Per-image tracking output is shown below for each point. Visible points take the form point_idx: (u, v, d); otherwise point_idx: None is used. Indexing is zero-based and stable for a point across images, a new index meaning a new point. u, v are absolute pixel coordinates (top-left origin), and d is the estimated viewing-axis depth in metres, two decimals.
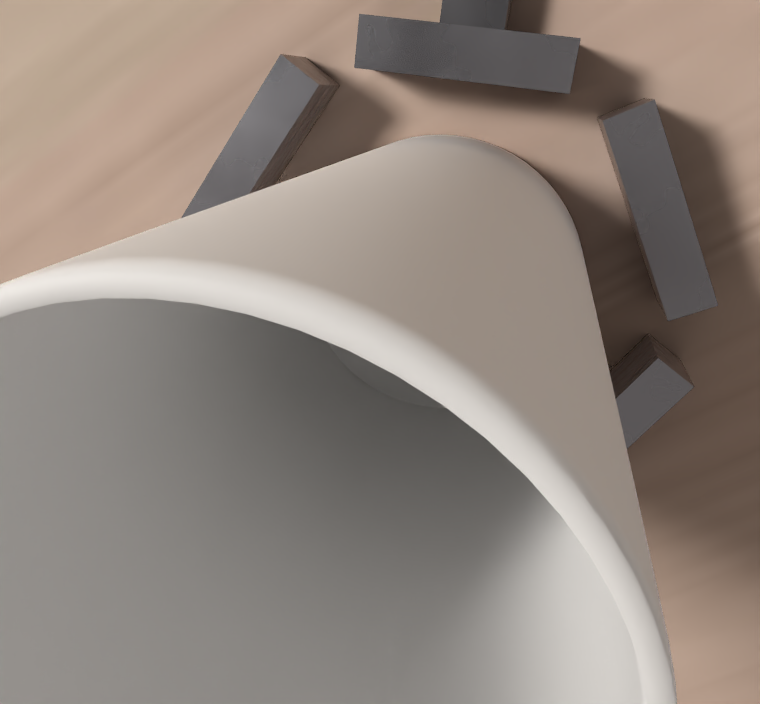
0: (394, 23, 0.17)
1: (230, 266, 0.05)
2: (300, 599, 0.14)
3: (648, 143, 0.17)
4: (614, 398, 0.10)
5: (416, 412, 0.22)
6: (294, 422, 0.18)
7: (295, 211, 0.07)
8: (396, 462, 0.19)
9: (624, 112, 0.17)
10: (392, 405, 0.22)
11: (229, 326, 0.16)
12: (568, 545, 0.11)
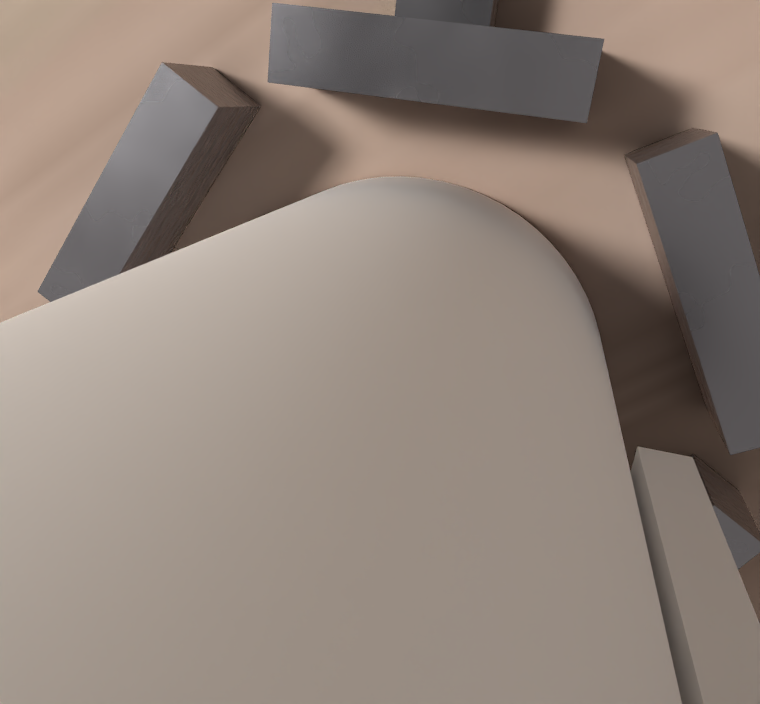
0: (324, 16, 0.12)
1: None
2: None
3: (706, 197, 0.11)
4: None
5: None
6: None
7: None
8: None
9: (670, 151, 0.11)
10: None
11: None
12: None
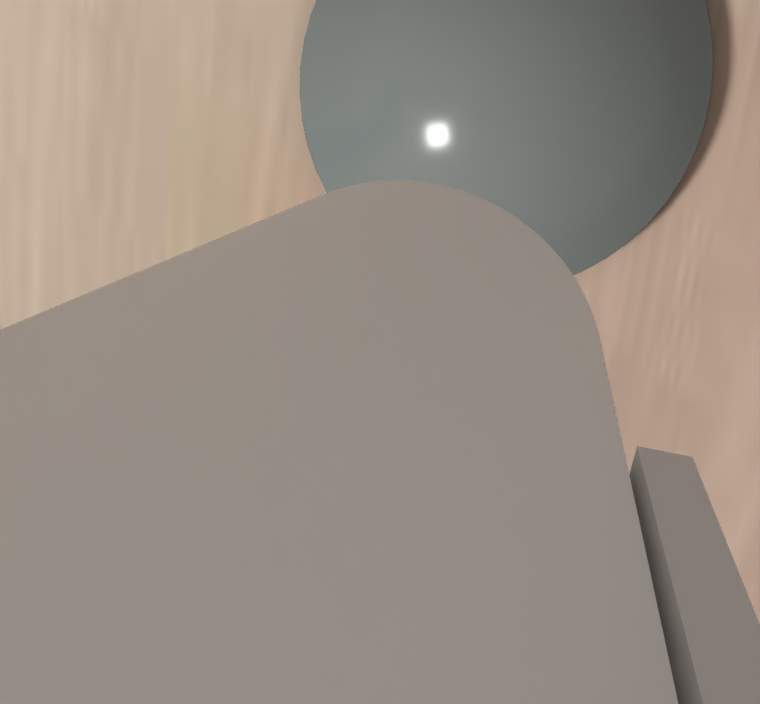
0: None
1: None
2: None
3: None
4: None
5: None
6: None
7: None
8: None
9: None
10: None
11: None
12: None
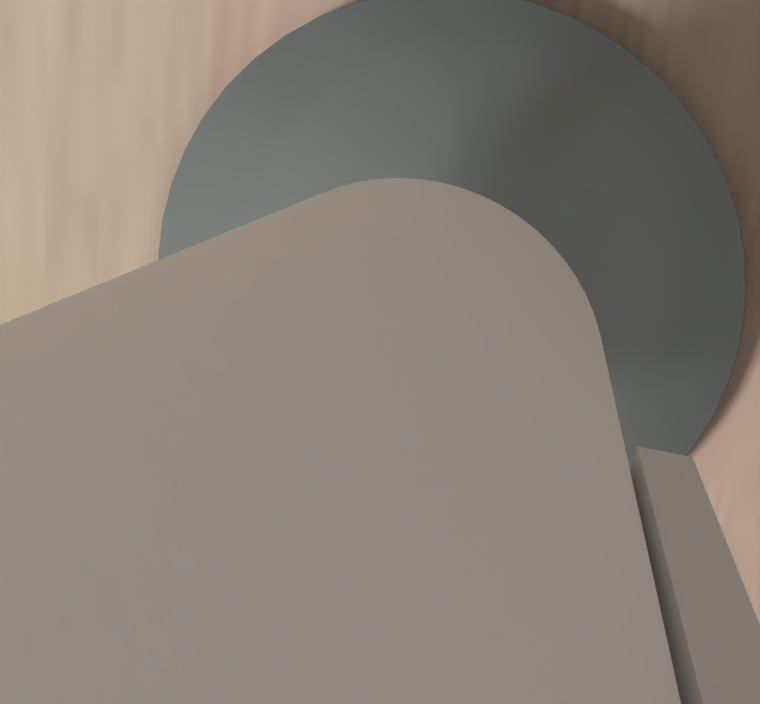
0: None
1: None
2: None
3: None
4: None
5: None
6: None
7: None
8: None
9: None
10: None
11: None
12: None
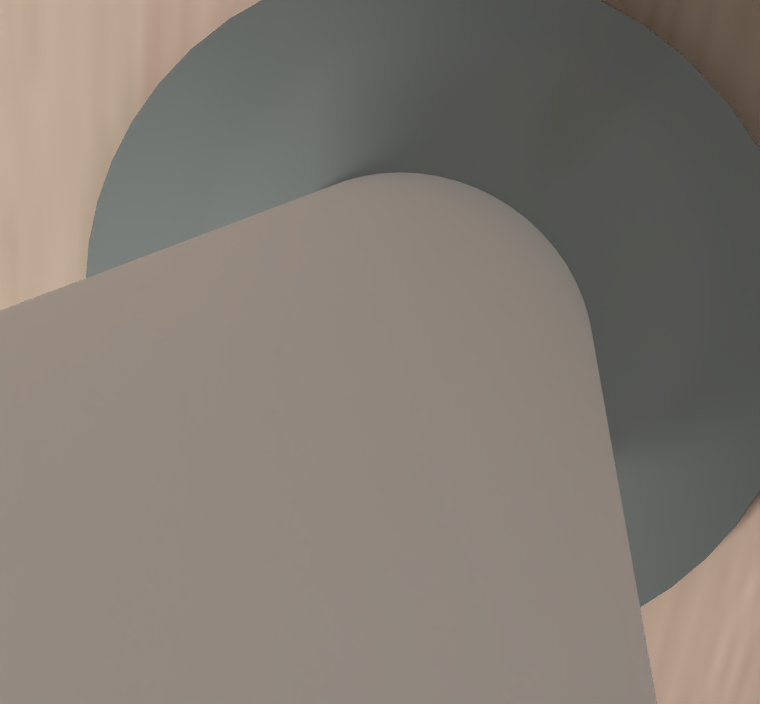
0: None
1: None
2: None
3: None
4: None
5: None
6: None
7: None
8: None
9: None
10: None
11: None
12: None
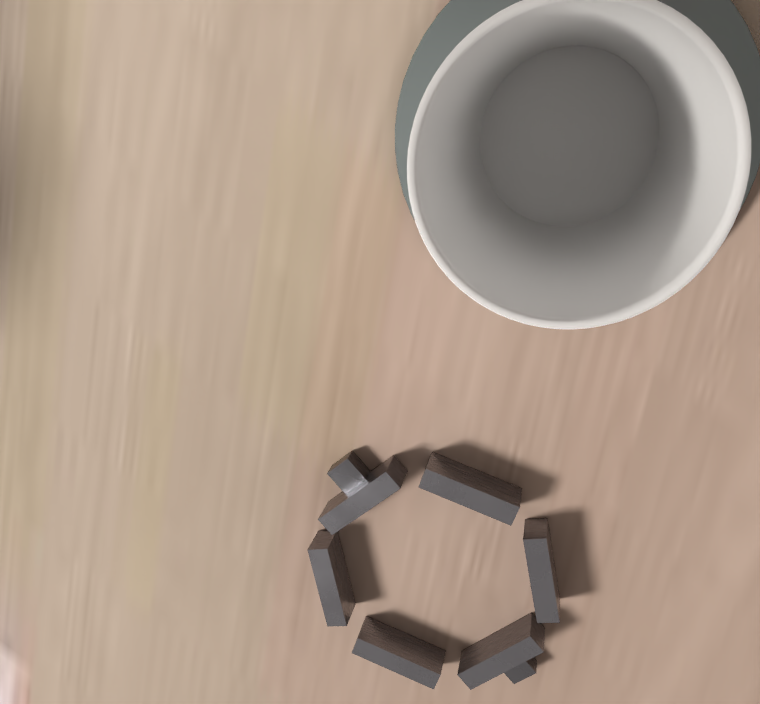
0: (330, 513, 0.40)
1: None
2: (524, 263, 0.25)
3: (438, 481, 0.38)
4: None
5: (549, 227, 0.33)
6: (488, 208, 0.29)
7: None
8: (548, 239, 0.30)
9: (422, 478, 0.38)
10: (533, 222, 0.33)
11: (464, 135, 0.27)
12: (680, 206, 0.23)
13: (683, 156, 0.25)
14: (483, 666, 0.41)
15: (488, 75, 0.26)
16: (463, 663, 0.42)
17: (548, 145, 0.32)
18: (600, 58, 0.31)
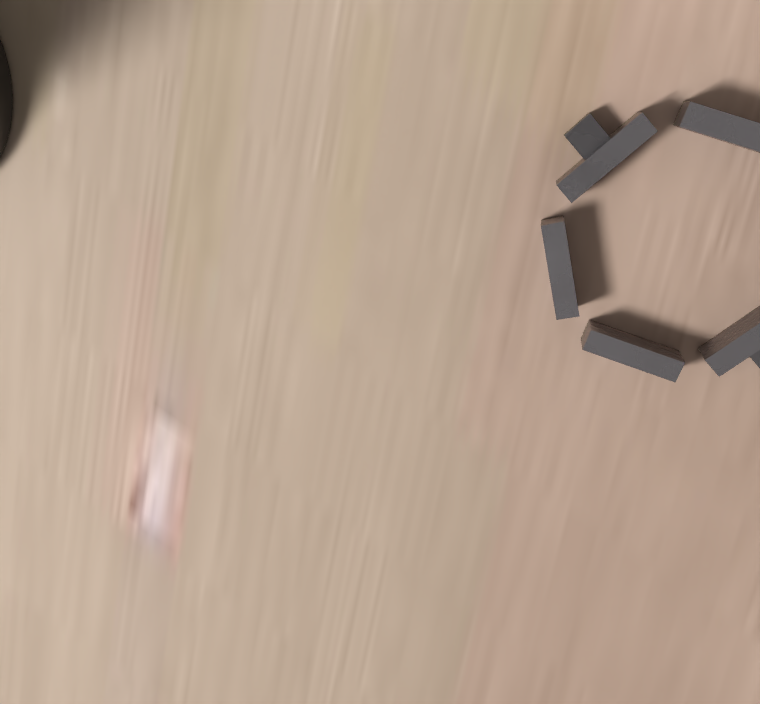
0: (571, 175, 0.37)
1: None
2: None
3: (704, 115, 0.35)
4: None
5: None
6: None
7: None
8: None
9: (684, 115, 0.35)
10: None
11: None
12: None
13: None
14: (736, 345, 0.38)
15: None
16: (708, 351, 0.39)
17: None
18: None
